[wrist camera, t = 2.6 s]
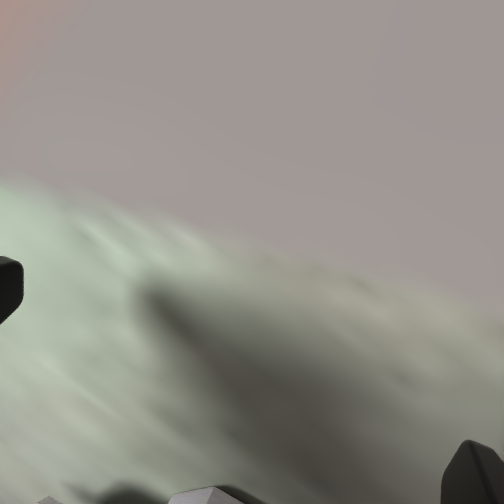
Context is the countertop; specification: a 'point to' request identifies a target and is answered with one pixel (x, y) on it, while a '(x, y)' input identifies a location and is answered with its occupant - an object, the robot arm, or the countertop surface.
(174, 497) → the charger
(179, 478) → the countertop surface
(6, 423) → the countertop surface
